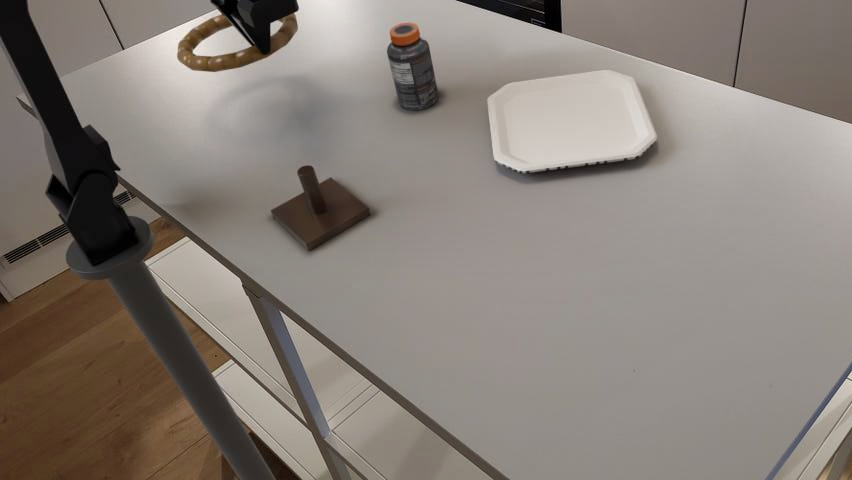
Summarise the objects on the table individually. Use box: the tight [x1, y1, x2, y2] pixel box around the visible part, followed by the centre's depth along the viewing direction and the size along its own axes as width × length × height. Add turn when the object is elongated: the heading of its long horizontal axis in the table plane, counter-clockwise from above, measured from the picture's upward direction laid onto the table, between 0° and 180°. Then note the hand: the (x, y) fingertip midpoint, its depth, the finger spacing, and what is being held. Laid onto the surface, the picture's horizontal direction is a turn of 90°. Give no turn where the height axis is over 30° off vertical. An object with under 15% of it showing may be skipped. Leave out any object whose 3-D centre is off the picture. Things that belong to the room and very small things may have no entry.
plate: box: [486, 69, 658, 174], centre depth 100 cm, size 21×21×2 cm
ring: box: [176, 13, 299, 73], centre depth 106 cm, size 17×17×2 cm
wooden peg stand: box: [270, 164, 371, 252], centre depth 92 cm, size 9×9×7 cm
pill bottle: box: [386, 22, 439, 111], centre depth 107 cm, size 6×6×11 cm
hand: (262, 50), depth 101 cm, fingers closed on ring, 2 cm apart
